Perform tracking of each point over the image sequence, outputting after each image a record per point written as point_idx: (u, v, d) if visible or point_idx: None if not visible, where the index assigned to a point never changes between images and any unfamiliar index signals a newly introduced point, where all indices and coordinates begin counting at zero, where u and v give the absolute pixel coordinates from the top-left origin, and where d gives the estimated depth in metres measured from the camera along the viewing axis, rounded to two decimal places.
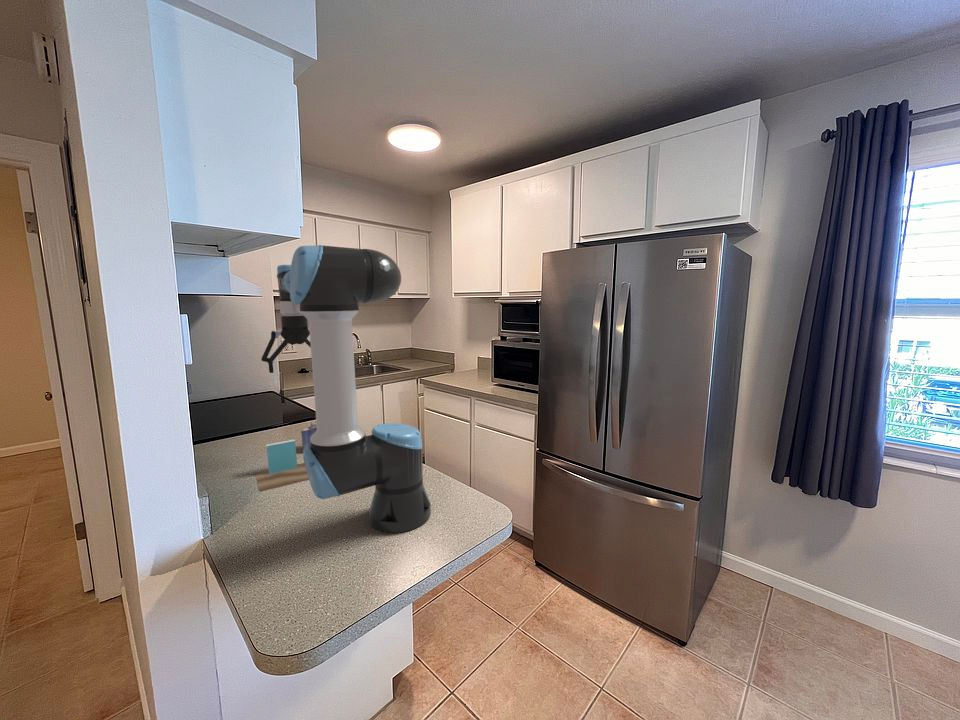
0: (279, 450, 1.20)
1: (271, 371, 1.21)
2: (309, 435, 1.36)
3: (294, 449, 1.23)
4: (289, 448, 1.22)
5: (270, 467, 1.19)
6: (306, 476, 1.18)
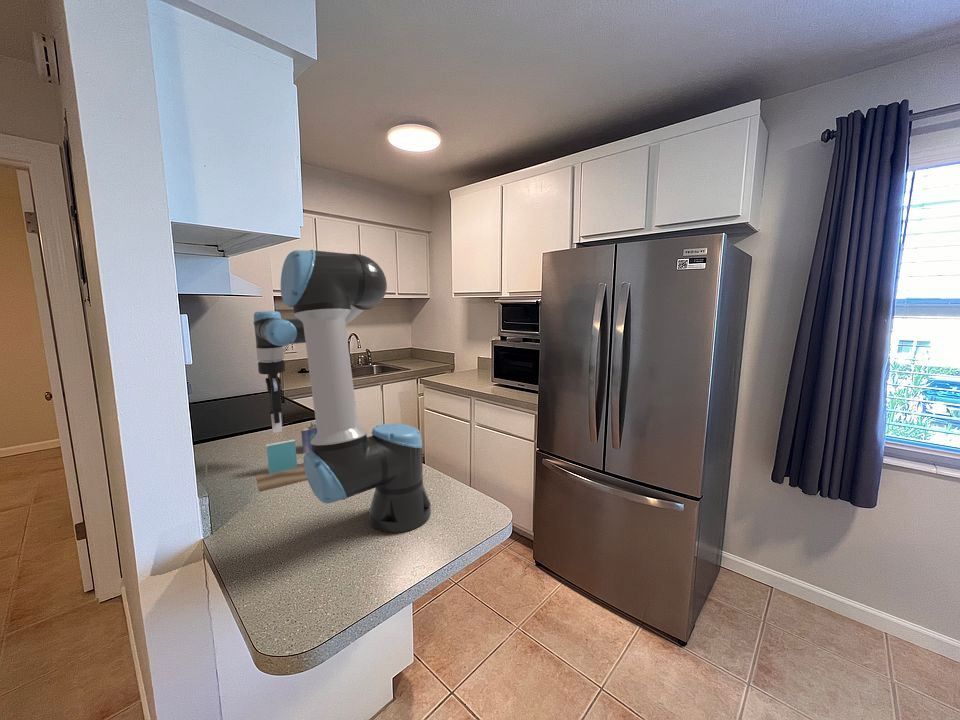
0: (279, 450, 1.20)
1: None
2: (309, 435, 1.36)
3: (294, 449, 1.23)
4: (289, 448, 1.22)
5: (270, 467, 1.19)
6: None
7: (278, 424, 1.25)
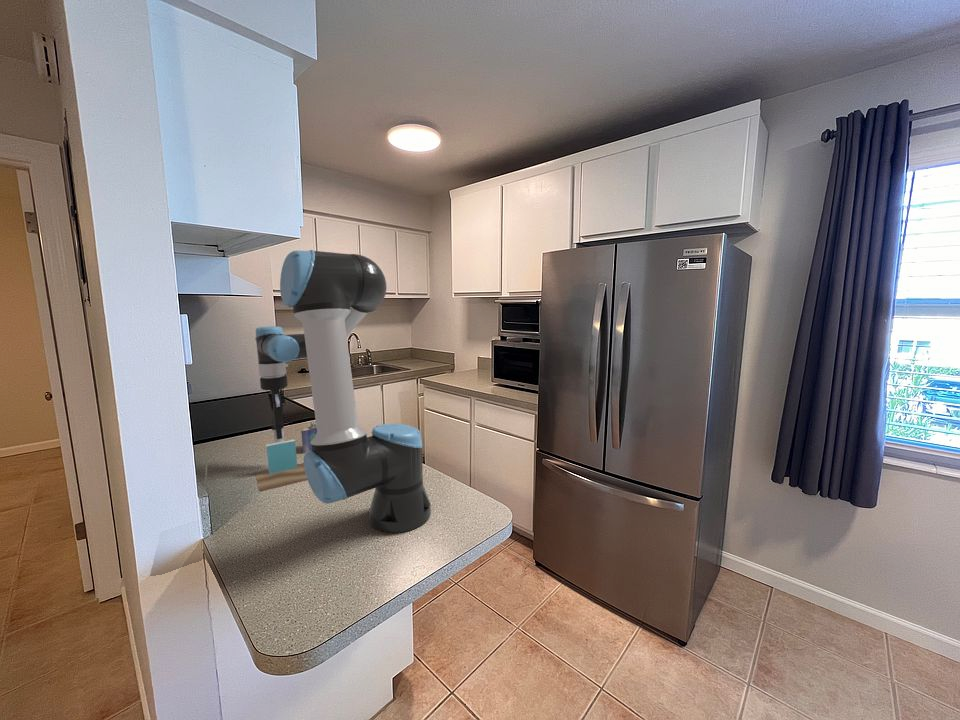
0: (279, 450, 1.20)
1: None
2: (309, 435, 1.36)
3: (294, 449, 1.23)
4: (289, 448, 1.22)
5: (270, 467, 1.19)
6: None
7: (280, 440, 1.24)
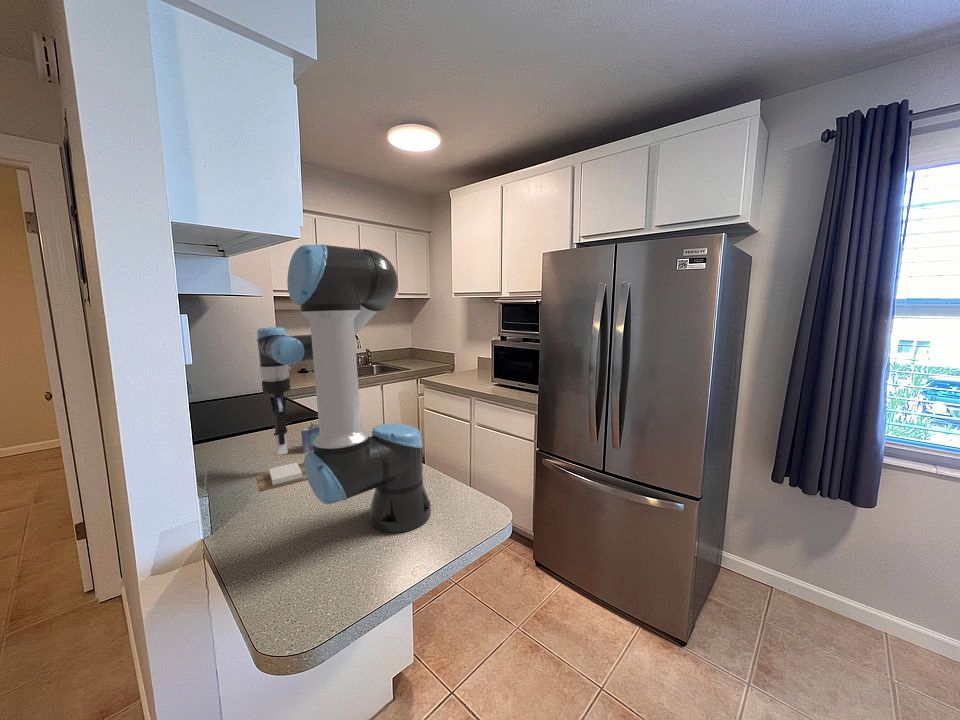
0: None
1: None
2: (309, 435, 1.36)
3: None
4: None
5: None
6: (306, 476, 1.18)
7: (283, 445, 1.19)
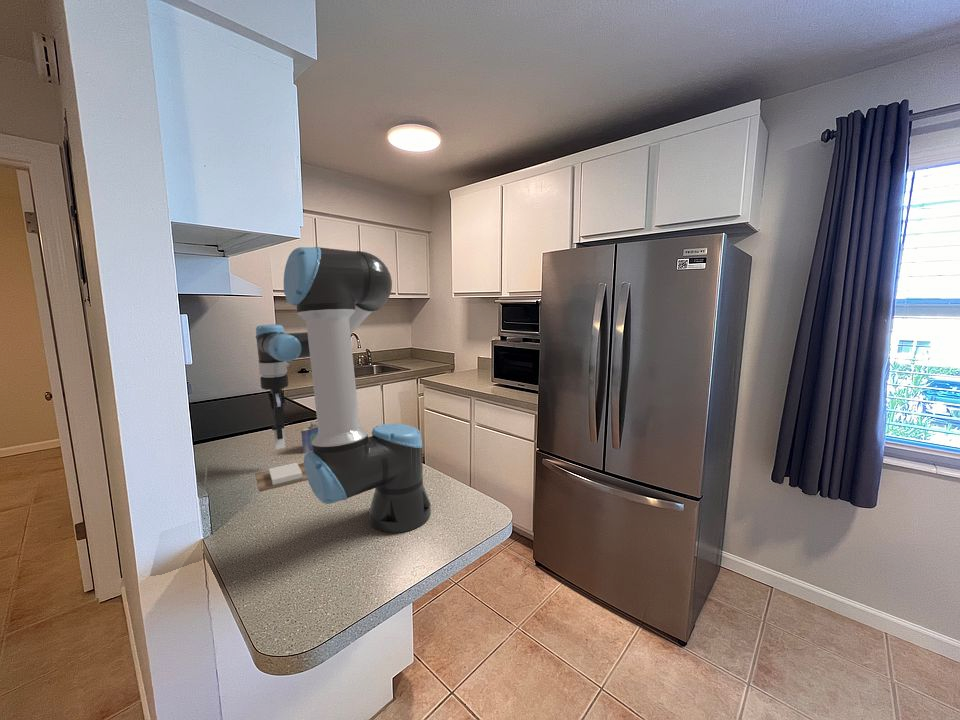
0: None
1: None
2: (309, 435, 1.36)
3: None
4: None
5: None
6: (306, 476, 1.18)
7: (281, 440, 1.22)
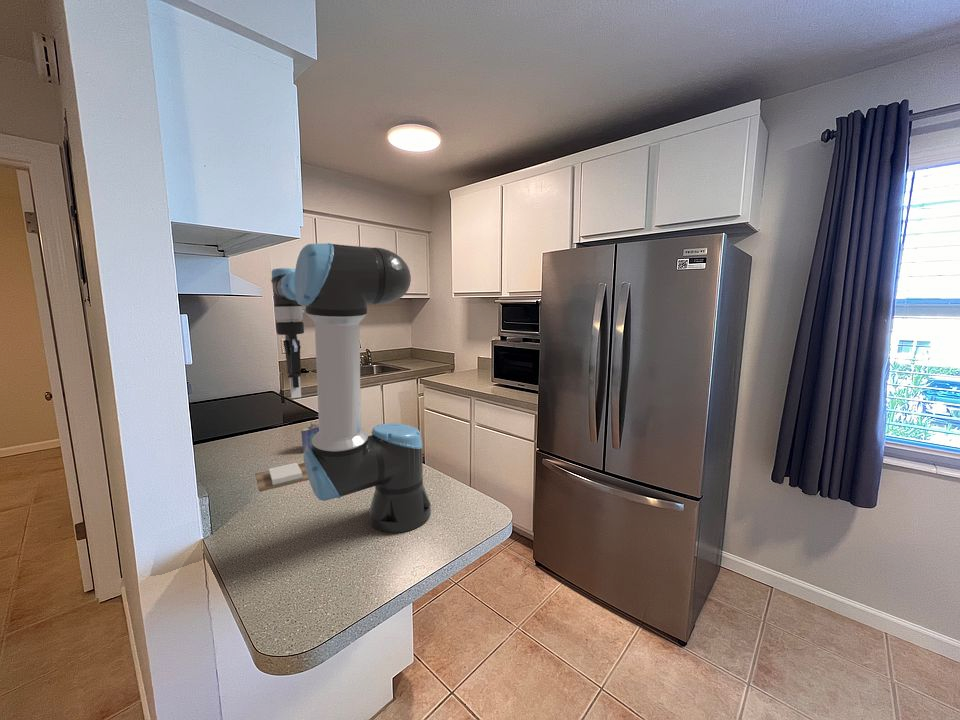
0: None
1: None
2: (309, 435, 1.36)
3: None
4: None
5: None
6: (306, 476, 1.18)
7: (297, 389, 1.19)
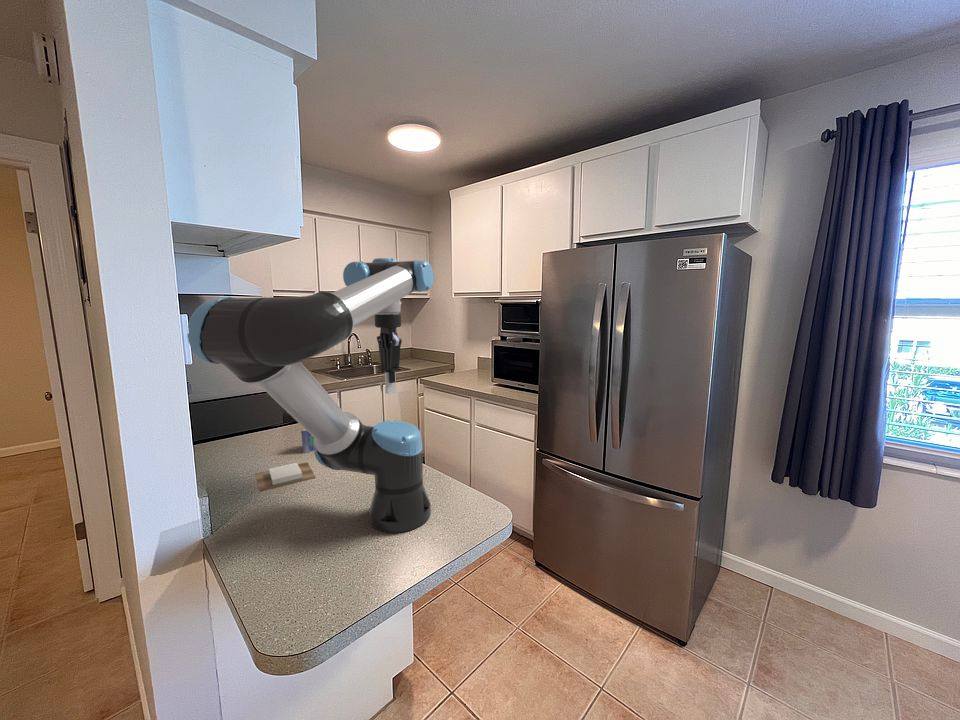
0: None
1: None
2: (309, 435, 1.36)
3: None
4: None
5: None
6: (306, 476, 1.18)
7: (392, 384, 1.15)
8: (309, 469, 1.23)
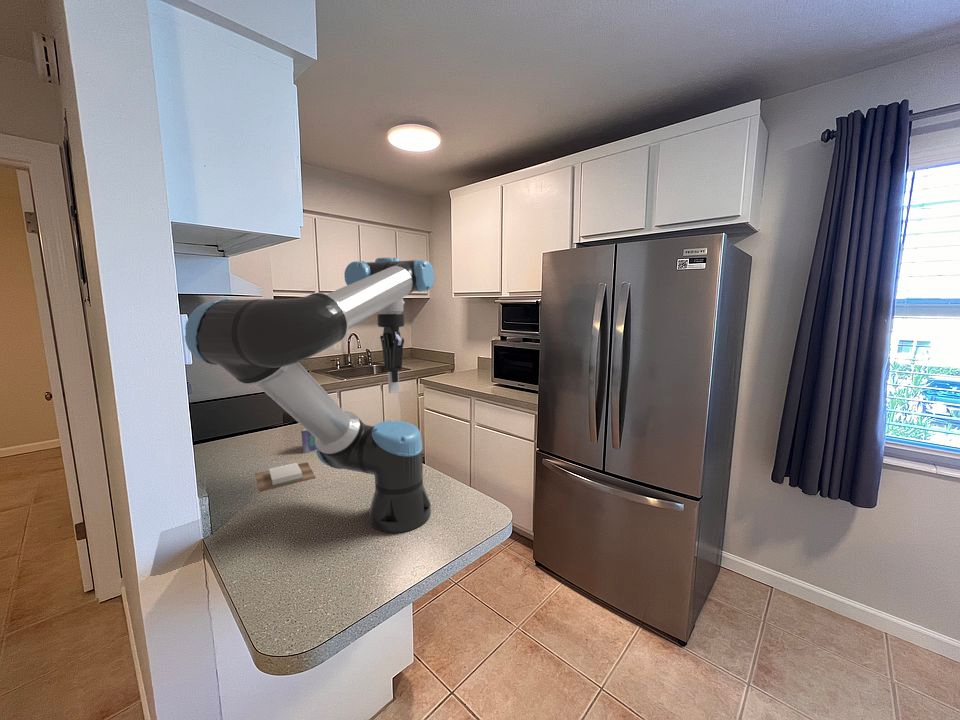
0: None
1: None
2: (309, 435, 1.36)
3: None
4: None
5: None
6: (306, 476, 1.18)
7: (395, 384, 1.15)
8: (309, 469, 1.23)
